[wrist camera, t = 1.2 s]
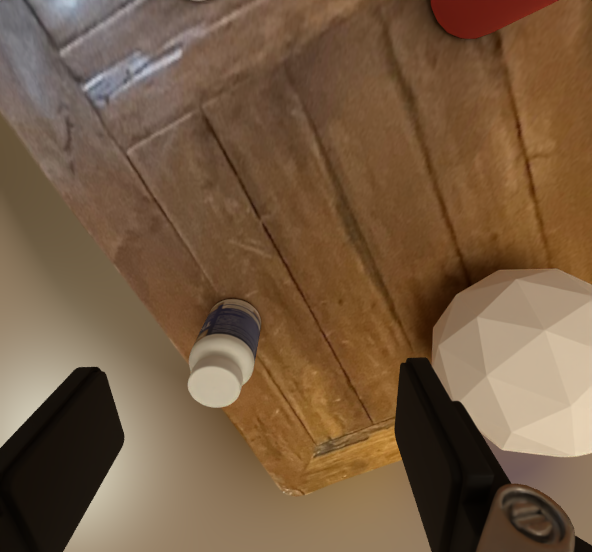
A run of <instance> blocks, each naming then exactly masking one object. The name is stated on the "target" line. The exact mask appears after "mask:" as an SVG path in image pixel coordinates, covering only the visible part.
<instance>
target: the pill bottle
mask: <svg viewBox="0 0 592 552" xmlns="http://www.w3.org/2000/svg"><path fill="white" fill-rule="evenodd" d="M260 329H261V319H260V316H259V314H258V312H257V310H256V309H255V308H254V307H253V306H252V305H250V304H249V303H247V302H245V301H242V300H238V299H227V300H223V301H221V302H219V303H218V304H216V305H215V306H214V307H213V308H212V309H211V311H210V313H209V314H208V317H207V319H206V321H205V323H204V325H203V327H202V329H201V331H200V333H199V335H198V337H197V339H196V342H195V344H194V346H193V348H192V350H191V353H190V357H189V367H190V371H191V374H190V377H189V380H188V389H189V392H190V394H191V395H192V396H193V398H194V399H195V400H196V401H198V402H199V403H201V404H203V405H205V406H208V407H224V406H227V405H230V404H232V403H233V402H234V401H235V400H236V399H237V398H238V396H239V394H240V390H241V387H242V385H244V384H245V383H246V382H247V381H248V380H249V378H250V377H251V374H252V372H253V368H254V363H255V357H256V351H257V346H258V341H259V335H260Z"/></svg>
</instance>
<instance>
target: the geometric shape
mask: <svg viewBox="0 0 592 552" xmlns="http://www.w3.org/2000/svg"><path fill="white" fill-rule="evenodd" d="M432 367H433V369H434V371H435V372H436V374H437V376H438V378H439V379H440V381H441V383H442V385H443V386H444V388H445V390H446V392H447V393H448V395H449V397H450V399H451V400H452V401H459V402H461V403H462V404H463V405H464V407H465V408H466V410H467V412H468V413H469V415H470V417H471V418H472V420H473V422H474V423H475V425H476V426H477V428H478V430H479V431H480V432H481V433H482V434H483V435H484V436H486V437H487V438H488V439H489V440H490V441H492V442H493V443H494V444H495V445H497V446H498V447H499V448H500V449H501V450H506V451H515V452H523V453H531V454H539V455H548V456H556V457H576V456H581V455H585V454H589V453H592V285H591V284H589V283H587V282H585V281H583V280H581V279H578V278H576V277H574V276H572V275H570V274H567V273H565V272H563V271H561V270H559V269H514V270H498V271H496V272H494V273H493V274H491V275H489V276H487V277H486V278H484V279H482V280H480V281H479V282H477V283H475V284H474V285H472V286H470V287H468V288H467V289H465V290H463V291H462V292H460V293H458V294H456V296H455V297H454V299H453V300H452V302H451V303H450V304H449V306H448V307H447V309H446V310H445V312H444V313H443V314H442V316H441V317H440V319H439V320H438V322H437V323H436V324H435V326H434V327H433V343H432Z"/></svg>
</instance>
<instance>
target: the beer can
mask: <svg viewBox="0 0 592 552" xmlns="http://www.w3.org/2000/svg"><path fill="white" fill-rule="evenodd" d="M556 1H558V0H431V8H432V10H433V12H434V14H435V17H436V19H437V21H438V23H439V24H440V25H441V26H442V27H443V28H444V29H445V30H446V31H447V32H448V33H450V34H452V35H454V36H457V37H459V38H467V39H476V38H479V37H482V36H485V35H487V34H490V33H492V32H494V31H496V30H499V29H501V28H503V27H505V26H507V25H509V24H511V23H513V22H515V21H517V20H519V19H521V18H523V17H525V16H527V15H529V14H532V13H534V12H536V11H538V10H540V9H542V8H544V7H546V6H548V5H550V4H552V3H554V2H556Z"/></svg>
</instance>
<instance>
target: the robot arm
mask: <svg viewBox="0 0 592 552" xmlns="http://www.w3.org/2000/svg"><path fill="white" fill-rule="evenodd" d="M395 437H396V441H397V445H398V448H399V451H400V454H401V457H402V460H403V463H404V466H405V470H406V473H407V476H408V479H409V482H410V485H411V488H412V492H413V494H414V497H415V501H416V503H417V507H418V510H419V513H420V517H421V520H422V523H423V526H424V529H425V532H426V535H427V538H428V542H429V545H430V548H431V551H432V552H592V546H591V545H590V544H588V543H587V542H585V541H583V540H582V539H580V538H578V537H577V536H575V532H574V527H573V525H572V523H571V521H570V519H569V517H568V516H567V514H566V513H565V512H564V510H563V509H562V508H561V507H560V506H559V505H558V504H557V503H556V502H555V501H554V500H552V499H551V498H550V497H548V496H547V495H545V494H544V493H542V492H540V491H539V490H537V489H534V488H531V487H529V486H527V485H521V484H511V482H510V481H509V479H508V477H507V476H506V474H505V473H504V471H503V469H502V468H501V466H500V464H499V463H498V461H497V459H496V458H495V456H494V454H493V453H492V451H491V449H490V448H489V446H488V445H487V443H486V441H485V440H484V438H483V436H482V435H481V433H480V431H479V430H478V428H477V426H476V425H475V423H474V422H473V420H472V418H471V417H470V415H469V413H468V412H467V410H466V408H465V407H464V405H463V404H462V403H461V402H459V401H452V400H451V399H450V397H449V395H448V393H447V392H446V390H445V388H444V386H443V385H442V383H441V381H440V379H439V378H438V376H437V374H436V372H435V371H434V369H433V367H432V366H431V364H430V362H429V360H428V359H427V358H407V360H406V363H401V365H400V374H399V385H398V396H397V407H396V418H395ZM123 443H124V432H123V429H122V426H121V422H120V419H119V416H118V412H117V409H116V406H115V402H114V399H113V396H112V393H111V389H110V386H109V383H108V379H107V376H106V374H105V372H102V371H101V370H100V369H99V368H98V367H79V368H76V369H75V370H74V371H73V372H72V373H71V374H70V375H69V376H68V377H67V378H66V379H65V381H64V382H63V383H62V384H61V385H60V386H59V387H58V388H57V389H56V390H55V391H54V392H53V393H52V394H51V395H50V396H49V397H48V398H47V400H46V401H45V402H44V403H43V404H42V405H41V406H40V407H39V408H38V409H37V410H36V411H35V412H34V413H33V414H32V415H31V416H30V417H29V418H28V419H27V421H26V422H25V423H24V424H23V425H22V426H21V427H20V428H19V429H18V430H17V431H16V432H15V433H14V434H13V435H12V436H11V437H10V439H8V440H7V442H6V443H5V444H4V445H3V446H2V447H1V448H0V552H63V551H64V549H65V547H66V545H67V544H68V542H69V540H70V539H71V537H72V535H73V533H74V531H75V530H76V528H77V526H78V524H79V523H80V521H81V519H82V517H83V515H84V514H85V512H86V510H87V508H88V507H89V505H90V503H91V501H92V499H93V498H94V496H95V494H96V492H97V491H98V489H99V487H100V485H101V483H102V482H103V480H104V478H105V476H106V475H107V473H108V471H109V469H110V468H111V466H112V464H113V462H114V460H115V459H116V457H117V455H118V453H119V452H120V450H121V448H122V446H123Z"/></svg>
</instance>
